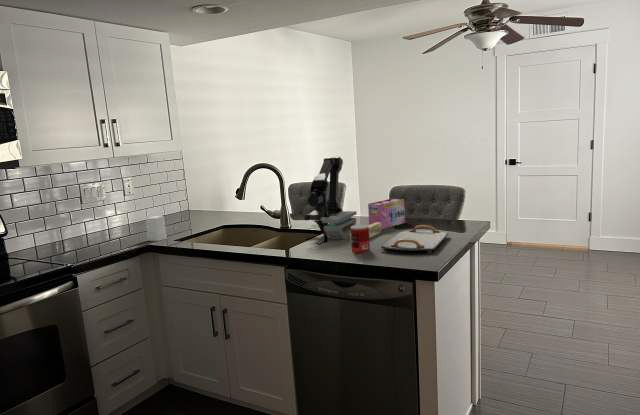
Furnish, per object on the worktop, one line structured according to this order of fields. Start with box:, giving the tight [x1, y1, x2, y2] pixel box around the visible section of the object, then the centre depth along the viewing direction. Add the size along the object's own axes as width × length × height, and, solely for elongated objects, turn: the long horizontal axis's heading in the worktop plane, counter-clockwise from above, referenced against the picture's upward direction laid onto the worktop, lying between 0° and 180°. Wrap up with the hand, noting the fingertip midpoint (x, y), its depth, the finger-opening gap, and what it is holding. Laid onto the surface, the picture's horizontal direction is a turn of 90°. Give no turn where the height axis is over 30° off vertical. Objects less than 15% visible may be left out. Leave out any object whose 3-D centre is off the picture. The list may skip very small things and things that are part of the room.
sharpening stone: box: [323, 210, 358, 240], centre depth 240 cm, size 25×8×11 cm, turn 155°
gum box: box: [367, 197, 406, 230], centre depth 261 cm, size 24×8×14 cm, turn 134°
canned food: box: [351, 224, 371, 254], centre depth 206 cm, size 8×8×11 cm
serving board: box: [380, 224, 449, 255], centre depth 213 cm, size 39×23×6 cm, turn 155°
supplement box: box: [144, 215, 167, 242], centre depth 265 cm, size 7×7×13 cm
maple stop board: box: [349, 222, 383, 245], centre depth 233 cm, size 3×30×5 cm, turn 150°
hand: (323, 233), depth 246 cm, fingers closed
